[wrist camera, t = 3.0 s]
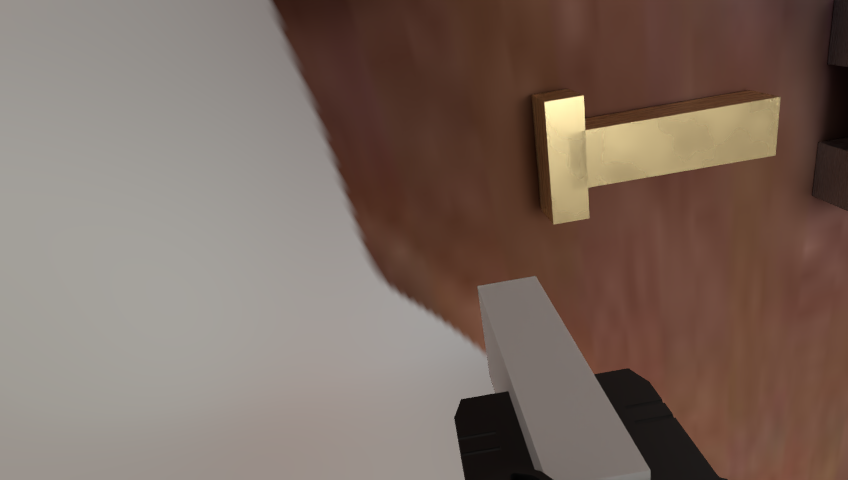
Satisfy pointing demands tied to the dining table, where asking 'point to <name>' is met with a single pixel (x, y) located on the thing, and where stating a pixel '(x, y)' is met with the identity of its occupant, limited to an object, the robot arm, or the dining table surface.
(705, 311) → the dining table surface
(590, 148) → the t-shaped block
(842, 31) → the socket
